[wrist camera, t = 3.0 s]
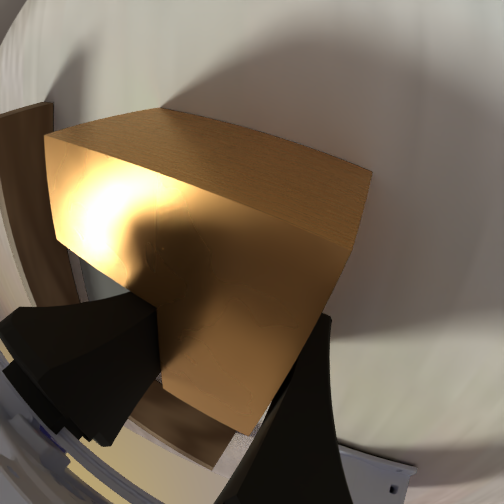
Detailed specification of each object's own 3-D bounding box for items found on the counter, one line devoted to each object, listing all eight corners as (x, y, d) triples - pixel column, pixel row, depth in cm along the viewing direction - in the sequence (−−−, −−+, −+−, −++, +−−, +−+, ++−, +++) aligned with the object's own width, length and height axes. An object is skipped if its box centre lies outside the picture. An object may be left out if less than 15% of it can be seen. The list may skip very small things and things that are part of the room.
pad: (186, 305, 15) (183, 307, 15) (183, 385, 20) (181, 387, 20) (78, 239, 17) (76, 240, 17) (97, 326, 22) (96, 327, 22)
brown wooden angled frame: (344, 177, 8) (311, 231, 5) (234, 433, 21) (211, 470, 18) (43, 101, 13) (-12, 118, 10) (82, 331, 25) (55, 355, 22)
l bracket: (297, 342, 13) (248, 436, 9) (151, 268, 15) (81, 327, 11) (372, 171, 8) (351, 250, 4) (158, 107, 10) (43, 135, 6)
